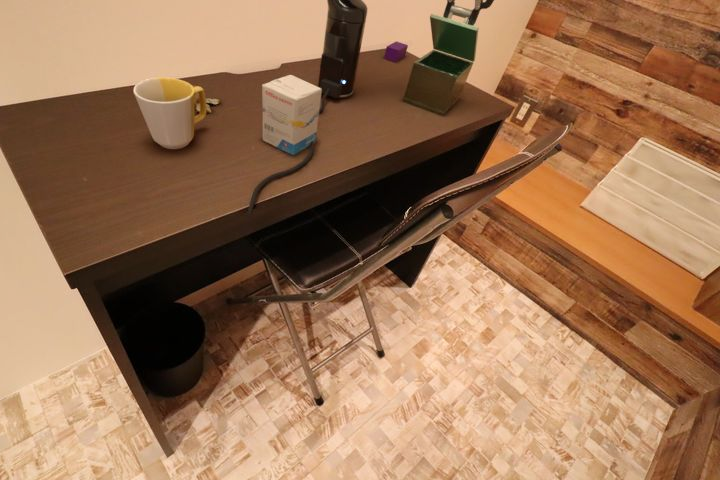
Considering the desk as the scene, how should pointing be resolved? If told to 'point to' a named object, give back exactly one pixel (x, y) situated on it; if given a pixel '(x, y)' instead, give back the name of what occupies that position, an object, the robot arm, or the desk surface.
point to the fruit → (208, 100)
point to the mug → (170, 109)
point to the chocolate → (395, 51)
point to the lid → (454, 34)
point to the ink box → (290, 113)
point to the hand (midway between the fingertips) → (457, 23)
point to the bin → (437, 81)
